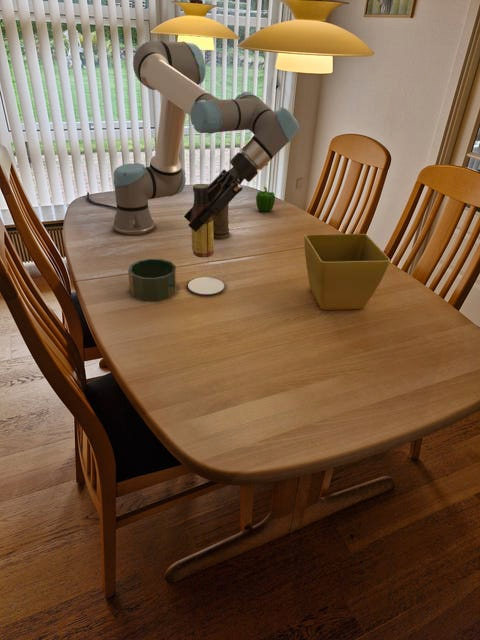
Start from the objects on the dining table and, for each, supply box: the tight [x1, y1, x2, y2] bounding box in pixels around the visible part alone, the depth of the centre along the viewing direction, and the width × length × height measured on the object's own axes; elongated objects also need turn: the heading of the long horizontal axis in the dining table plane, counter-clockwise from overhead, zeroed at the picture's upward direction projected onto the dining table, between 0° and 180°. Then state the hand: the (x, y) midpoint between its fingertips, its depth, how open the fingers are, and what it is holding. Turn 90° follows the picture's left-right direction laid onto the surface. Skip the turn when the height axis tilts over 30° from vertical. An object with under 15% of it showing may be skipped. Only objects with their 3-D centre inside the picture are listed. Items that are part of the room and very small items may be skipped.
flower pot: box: [304, 233, 391, 311], centre depth 126 cm, size 19×19×17 cm
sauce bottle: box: [190, 183, 215, 259], centre depth 122 cm, size 6×6×20 cm
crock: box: [127, 258, 178, 302], centre depth 128 cm, size 13×13×7 cm
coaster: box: [187, 276, 225, 297], centre depth 133 cm, size 11×11×1 cm
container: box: [209, 201, 230, 240], centre depth 164 cm, size 9×9×18 cm
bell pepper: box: [255, 186, 276, 213], centre depth 193 cm, size 8×8×10 cm
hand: (189, 223), depth 121 cm, fingers closed on sauce bottle, 6 cm apart
